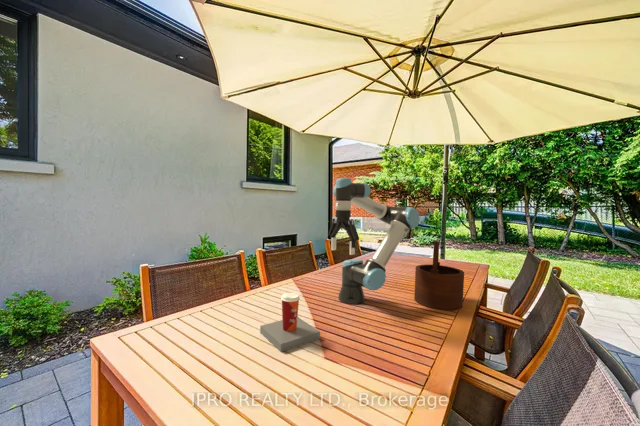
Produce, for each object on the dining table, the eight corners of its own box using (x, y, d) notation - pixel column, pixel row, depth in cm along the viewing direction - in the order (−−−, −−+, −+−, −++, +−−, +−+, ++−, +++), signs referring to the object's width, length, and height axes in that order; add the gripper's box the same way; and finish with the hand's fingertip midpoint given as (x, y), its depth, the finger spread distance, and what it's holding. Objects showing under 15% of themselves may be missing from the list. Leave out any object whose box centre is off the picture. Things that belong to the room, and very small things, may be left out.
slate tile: (260, 332, 116) (260, 325, 116) (296, 322, 127) (296, 316, 127) (280, 352, 102) (280, 344, 101) (319, 338, 112) (320, 331, 112)
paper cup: (295, 334, 110) (296, 299, 109) (277, 331, 111) (278, 297, 111) (301, 325, 117) (302, 293, 117) (283, 323, 119) (284, 291, 118)
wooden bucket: (461, 299, 166) (464, 241, 165) (463, 314, 142) (467, 247, 141) (416, 292, 177) (418, 238, 175) (411, 305, 153) (414, 242, 152)
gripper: (321, 208, 144) (321, 249, 145) (355, 210, 124) (354, 257, 125) (332, 208, 148) (332, 247, 149) (367, 210, 129) (366, 255, 130)
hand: (342, 252), depth 137 cm, fingers open, 13 cm apart
